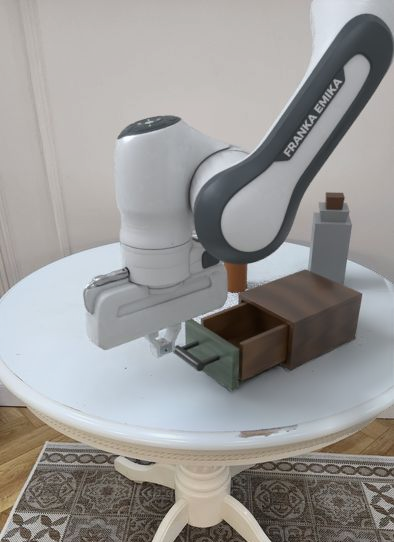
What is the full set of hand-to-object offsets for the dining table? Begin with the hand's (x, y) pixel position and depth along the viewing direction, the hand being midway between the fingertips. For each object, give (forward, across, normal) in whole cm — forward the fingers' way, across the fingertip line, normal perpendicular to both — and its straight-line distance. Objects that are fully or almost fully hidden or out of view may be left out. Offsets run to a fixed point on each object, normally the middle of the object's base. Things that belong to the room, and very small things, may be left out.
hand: (163, 353), depth 73 cm
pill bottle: (+8, +32, +22) cm, 39 cm away
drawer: (+7, +13, 0) cm, 15 cm away
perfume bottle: (+8, +48, +12) cm, 50 cm away
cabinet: (+8, +27, 0) cm, 28 cm away
